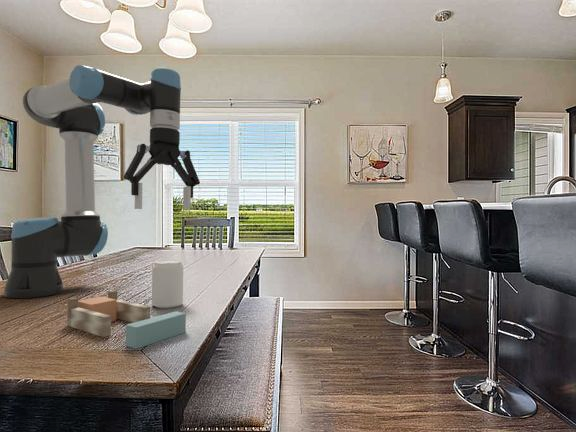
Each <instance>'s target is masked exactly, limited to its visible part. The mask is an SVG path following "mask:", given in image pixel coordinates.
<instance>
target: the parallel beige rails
mask: <svg viewBox="0 0 576 432" xmlns="http://www.w3.org/2000/svg"><path fill="white" fill-rule="evenodd" d="M107 298H111V299H116V320H117V319H118V320H122V321H125V322H129V323H135V322H138V321H142V320H146V319H149V318H151V306H149V305H145V304H140V303H136V302H132V301H131V302H130V301H127V300H123V299H118V290H114V289H113V290H108V291H107ZM78 301H79V297H69V298H67V317H66V318H67V321H66V322H67V327H71V328H74V329H77V330H81V331H82V332H86V333H89V334H93V335H96V336H99V337H101V338H107V337H110V336H111V335H112V322H111V316H110V315H106V314H102V313H98V312H95V311H91V310H87V309H83V308H79V307H78Z"/></svg>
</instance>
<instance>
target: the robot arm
mask: <svg viewBox="0 0 576 432" xmlns="http://www.w3.org/2000/svg"><path fill="white" fill-rule="evenodd" d="M149 80H150V81H147V82H144V83H139V82H136V81H133V80H130V79H127V78H125V77H122V76H121V77H120V76H118V75H115V74H111V73H109V72H106V71H103V70H100V69H98V68H96V67H93V66H87V65H83V64H77V65H76V66H74V67H73V70H71V72H70V75H69V78H67V79H64V80H62V81H59V82H55V83H53V84H51V85H35V86H33V87H31V88H29V89H27V90H26V92H24V94H23V97H22V106H23V109H24V111H25V112H26V114H27V115H28V116H29V117H30V118H31V119H32V120H34V121H35V122H37V123H39V124H41V125H43V126H46V127H51V128H55V129H58V132H59V133H58V135H59V137H60V138H61V139H62V140H63V141H64V163H65V164H64V167H65V172H64V173H65V212H64V213H63V214H62V215H61V216H60V221H59V219H58V218H57V217H55V216H51V217H49V216H48V217H35V218H27V219H21V220H17V221H15V222H13V224H12V227H11V228H12V229H11V235H10V239H11V259H10V260H11V266H10V267H11V268H10V272H9V275H8V276H7V277H8V278H7V280H6V282H5V285H4V288H3V297H4V298H8V299H29V298H30V299H31V298H40V297H48V296H53V295H56V294H59V293H63V291H64V282H63V279H62V277H61V274H60V271H59V269H58V258H68V257H79V256H81V257H82V256H84V257H85V256H86V257H87V256H91V255H97V254H99V253H100V252H102V251H103V250H104V248H105V247H106V245H107V241H108V236H109V231H108V227H107V224H106V222H104V221H102V220H101V214H99V213H98V212H97V211H96V199H95V197H96V196H95V157H94V154H95V153H94V149H95V148H94V143H95V141H97V140H98V139H99V136H101V135H102V134H103V133H104V130H105V128H104V127H105V126H106V116H105V111H104V110H103V108H102V106H101V105H100V104H99V103H102V104H108V105H111V106H114V107H115V106H116V107H118V108H122V109H124V110H125V111H127V112H128V113H129V114H131V115H133V116H135V115H136V116H137V115H140V116H141V115H146V114H149V116H150V117H149V127H150V130H149V145H146V144H145V143H139V144H138V145H137V146H136V147H137V148H136V153H135V155H134V157H133V158H132V160H131V162H130V164H129V166H128V167H127V169H126V171H125V173H124V175H123V179H124V180H125V181H126V180H127V181H128V182H129V183H131V189H130V190H131V191H130V192H131V193H130V194H131V195H132V196H134V209H135V210H142V209H143V182H140V181H141V180H142V179H143V178H144V176H146V175H147V173H148V172H149V171H150V170H151V169H152V168H153V167H154V166H155V165H163V166H171V167H172V168H173V169H174V170H175V172H176V174H177V175H178V176H179V177H180V179H181V181H182V182H183V184H185V186H183V189H182V191H183V193H182V194H183V195H182V197H183V199H182V210H183V211H190V210H191V207H192V206H191V203H192V202H191V200H192V199H193V198H194V187H195V186H197V185H200V183H201V182H200V179H199V177H198V174H197V172H196V170H195V166H194V164H193V162H192V159H191V151H190V150H180V144H181V143H180V139H181V138H180V137H181V135H180V134H181V133H180V131H179V130H180V129H181V128H180V127H181V122H180V121H181V93H182V92H181V90H182V87H181V76H180V74H179V72H177V71H176V70H174V69H171V68H168V67H156V68H153V69H152V70H151V72H150V78H149ZM147 153H149V155H150V157H149V158H148V159H147V160H146V162H145V163H144V164H143V166H142V167H141V168H140V169H139V170H138V167H139V165H140V164H141V162H142V160H143V158H144V157H145V154H147ZM179 157H180V159H181V160H180V159H179ZM181 161H182V162H181ZM182 163H183V165H182ZM137 170H138V171H137ZM136 171H137V172H136Z"/></svg>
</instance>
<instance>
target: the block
mask: <svg viewBox="0 0 576 432" xmlns="http://www.w3.org/2000/svg"><path fill="white" fill-rule="evenodd" d="M78 307H79V308H83V309H87V310H91V311H95V312H98V313H102V314H106V315H110V316H111V323H112V322H115V321H117V318H116V299H111V298H108V296H97V297H92V298H86V299H81V300H78Z"/></svg>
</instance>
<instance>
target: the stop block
mask: <svg viewBox="0 0 576 432" xmlns="http://www.w3.org/2000/svg"><path fill="white" fill-rule="evenodd" d="M186 320H187V314H186V313H185V312H181V311H178V310H177V311H176V310H175V311H172V312H168V313H165V314H160V315H157V316H153V317H150V318H149V319H146V320H142V321H138V322H135V323H132V322H130V323H128V324H126V325H125V347H127V348H128V347H129V348H132V349H134V350H137V349H140V348H144V347H146V346H148V345H153V344H154V343H158V342H161V341H164V340H167V339H169V338H173V337H175V336H179V335H181V334H184V333H186V330H187V329H186V323H187V322H186Z"/></svg>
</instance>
